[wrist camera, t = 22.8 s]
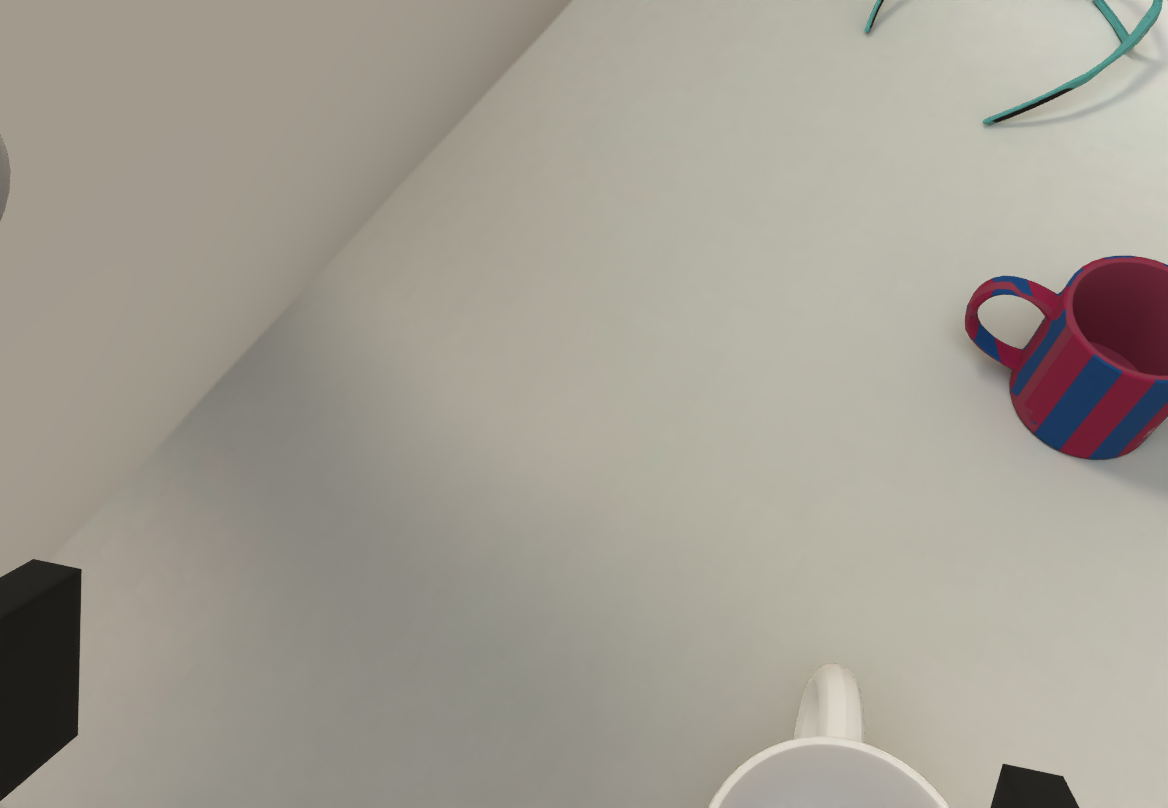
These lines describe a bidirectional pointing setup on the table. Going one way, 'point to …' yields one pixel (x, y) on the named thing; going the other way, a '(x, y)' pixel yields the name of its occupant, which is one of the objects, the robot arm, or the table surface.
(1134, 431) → the cup
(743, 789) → the mug
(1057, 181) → the table surface
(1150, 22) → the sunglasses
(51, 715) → the robot arm
